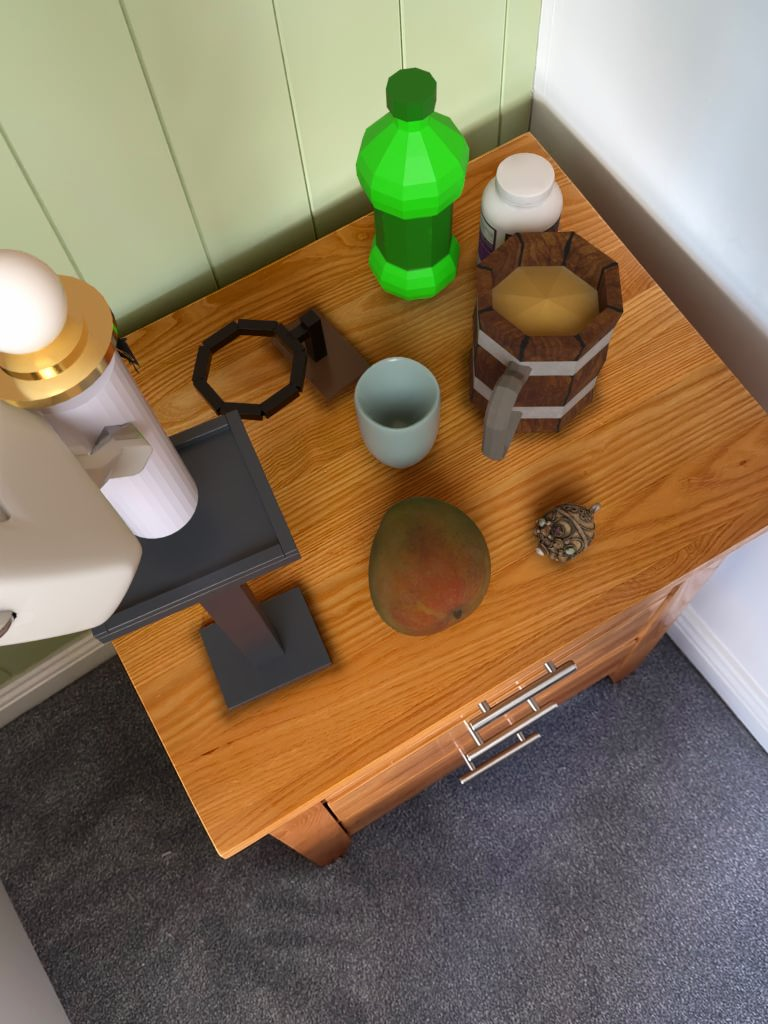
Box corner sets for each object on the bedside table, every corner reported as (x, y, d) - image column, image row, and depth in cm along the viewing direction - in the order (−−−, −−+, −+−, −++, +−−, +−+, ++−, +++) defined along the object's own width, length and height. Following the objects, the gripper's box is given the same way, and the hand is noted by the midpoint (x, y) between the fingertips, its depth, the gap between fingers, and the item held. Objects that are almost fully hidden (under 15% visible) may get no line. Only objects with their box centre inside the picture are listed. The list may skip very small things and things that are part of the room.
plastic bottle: (433, 229, 95) (436, 26, 72) (477, 297, 91) (494, 105, 68) (354, 262, 94) (330, 66, 71) (394, 332, 90) (384, 148, 67)
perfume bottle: (211, 549, 45) (66, 332, 27) (106, 558, 45) (-111, 346, 27) (213, 455, 47) (80, 195, 29) (113, 463, 48) (-83, 209, 29)
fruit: (402, 666, 75) (398, 638, 66) (338, 553, 80) (327, 513, 71) (511, 605, 77) (523, 570, 68) (443, 498, 82) (445, 452, 73)
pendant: (517, 543, 80) (522, 523, 75) (575, 496, 81) (584, 473, 77) (553, 581, 78) (561, 564, 73) (612, 532, 80) (623, 512, 75)
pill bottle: (561, 263, 92) (584, 161, 79) (526, 314, 90) (544, 219, 77) (497, 234, 94) (509, 130, 81) (462, 283, 92) (468, 185, 79)
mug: (491, 310, 90) (503, 210, 76) (612, 349, 88) (646, 252, 74) (421, 460, 84) (420, 380, 70) (550, 507, 81) (575, 434, 67)
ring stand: (249, 465, 84) (234, 430, 77) (190, 395, 88) (170, 356, 81) (375, 374, 88) (370, 332, 81) (313, 310, 91) (303, 266, 84)
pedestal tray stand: (223, 726, 74) (93, 637, 45) (187, 627, 78) (46, 485, 49) (347, 670, 76) (297, 549, 47) (306, 575, 79) (236, 408, 50)
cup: (346, 446, 85) (336, 396, 75) (398, 397, 87) (394, 341, 77) (402, 493, 82) (399, 446, 73) (454, 441, 84) (458, 389, 75)
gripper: (-101, 602, 21) (274, 518, 32) (-375, 151, 28) (14, 211, 39) (-150, 743, 24) (207, 622, 35) (-385, 307, 31) (-23, 321, 42)
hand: (104, 404), depth 37 cm, fingers closed on perfume bottle, 4 cm apart
